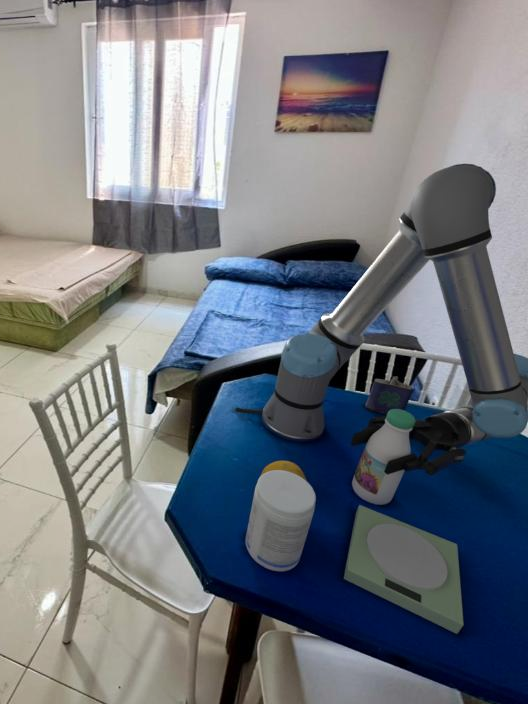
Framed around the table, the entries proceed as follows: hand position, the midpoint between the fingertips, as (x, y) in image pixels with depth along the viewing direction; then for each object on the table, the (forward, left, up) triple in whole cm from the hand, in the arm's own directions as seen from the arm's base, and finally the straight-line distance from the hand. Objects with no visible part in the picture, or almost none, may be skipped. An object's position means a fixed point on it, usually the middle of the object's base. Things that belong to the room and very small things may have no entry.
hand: (370, 453), depth 78 cm
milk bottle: (+3, +4, -12) cm, 13 cm away
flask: (+3, +38, -12) cm, 40 cm away
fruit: (-13, -8, -12) cm, 20 cm away
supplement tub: (-11, -21, -12) cm, 27 cm away
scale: (+9, -12, -12) cm, 19 cm away
